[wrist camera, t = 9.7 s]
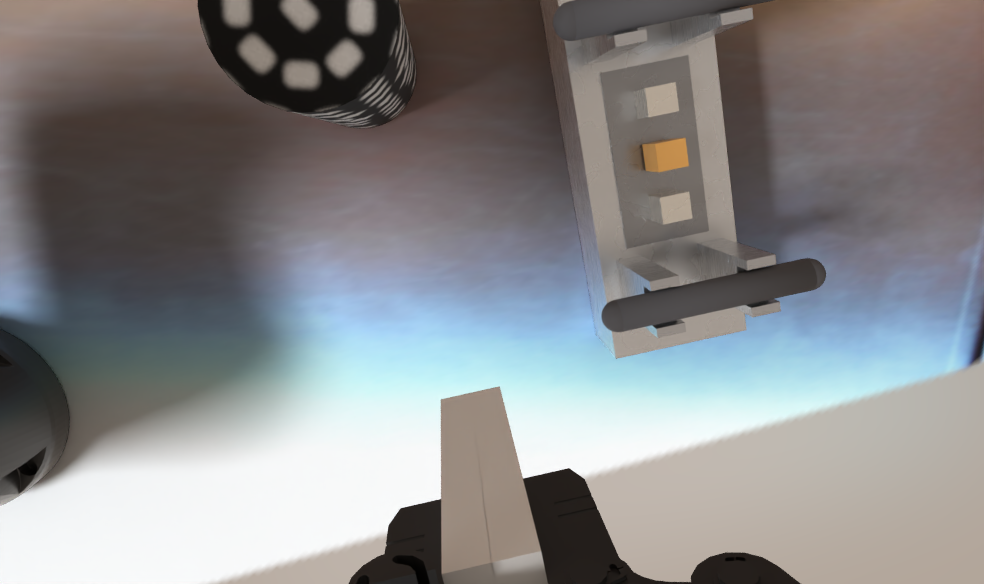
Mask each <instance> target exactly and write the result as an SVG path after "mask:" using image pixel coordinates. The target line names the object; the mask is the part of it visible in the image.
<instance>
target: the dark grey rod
mask: <svg viewBox="0 0 984 584" xmlns="http://www.w3.org/2000/svg"><path fill="white" fill-rule="evenodd" d="M768 1H773V0H573V1H569V2H565V3H564V4H562V5H561V6H559V7H558V9H557V10H556V12H555V14H554V17H553V27H554V30H555V32H556V34H557V35H558V36H559V37H560V38H562V39H563V40H566V41H575V40H580V39H585V38H590V37H595V36H600V35H605V34H610V33H615V32H620V31H625V30H630V29H635V28H639V27H644V26H649V25H654V24H659V23H664V22H669V21H674V20H679V19H684V18H689V17H694V16H699V15H704V14H709V13H714V12H719V11H723V10H728V9H733V8H738V7H743V6H748V5H753V4H758V3H763V2H768Z"/></svg>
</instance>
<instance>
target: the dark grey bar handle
mask: <svg viewBox="0 0 984 584" xmlns="http://www.w3.org/2000/svg"><path fill="white" fill-rule="evenodd" d="M825 278H826V271H825V268H824V266H823V265H822V264H821V263H820V262H819V261H817V260H815V259H810V258H806V259H800V260H796V261H791V262H786V263H782V264H777V265H773V266H768V267H763V268H759V269H754V270H750V271H745V272H740V273H736V274H731V275H727V276H722V277H717V278H713V279H708V280H704V281H699V282H694V283H690V284H685V285H681V286H676V287H671V288H667V289H662V290H658V291H653V292H648V293H644V294H639V295H635V296H630V297H625V298H621V299H616V300H613V301H610V302H608V303H607V304H606V305H605V306H604V308H603V310H602V314H601V318H602V322H603V324H604V325H605V327H606V328H608V329H609V330H611V331H613V332H624V331H629V330H633V329H638V328H642V327H647V326H652V325H656V324H661V323H665V322H670V321H674V320H679V319H683V318H688V317H693V316H697V315H702V314H706V313H711V312H715V311H720V310H724V309H729V308H734V307H738V306H743V305H747V304H752V303H756V302H761V301H766V300H770V299H775V298H779V297H784V296H788V295H793V294H797V293H802V292H807V291H811V290H815V289H817V288H818V287H820V286H821V285H822V284H823V282H824V281H825Z"/></svg>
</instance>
